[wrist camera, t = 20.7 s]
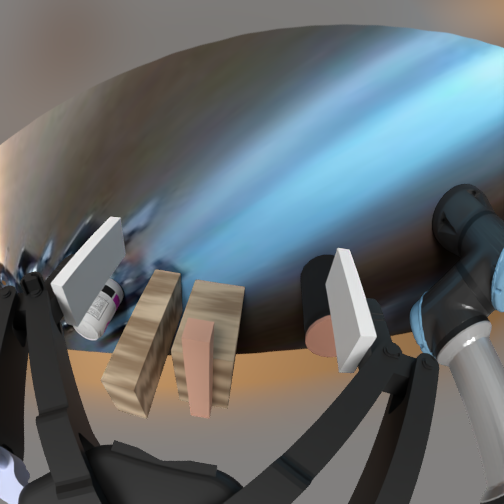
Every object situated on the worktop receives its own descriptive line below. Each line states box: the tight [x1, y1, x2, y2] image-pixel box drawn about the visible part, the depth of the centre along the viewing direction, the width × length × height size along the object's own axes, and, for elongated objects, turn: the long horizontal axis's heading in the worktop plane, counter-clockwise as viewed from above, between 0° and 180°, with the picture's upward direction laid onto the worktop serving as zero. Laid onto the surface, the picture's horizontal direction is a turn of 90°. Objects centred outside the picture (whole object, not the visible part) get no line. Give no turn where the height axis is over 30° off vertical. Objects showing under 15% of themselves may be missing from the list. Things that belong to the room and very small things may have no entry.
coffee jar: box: [301, 255, 337, 357], centre depth 53 cm, size 11×11×18 cm
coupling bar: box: [182, 318, 214, 419], centre depth 48 cm, size 28×4×4 cm, turn 173°
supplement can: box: [74, 278, 124, 340], centre depth 62 cm, size 8×8×15 cm
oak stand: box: [101, 270, 245, 419], centre depth 57 cm, size 21×20×30 cm
